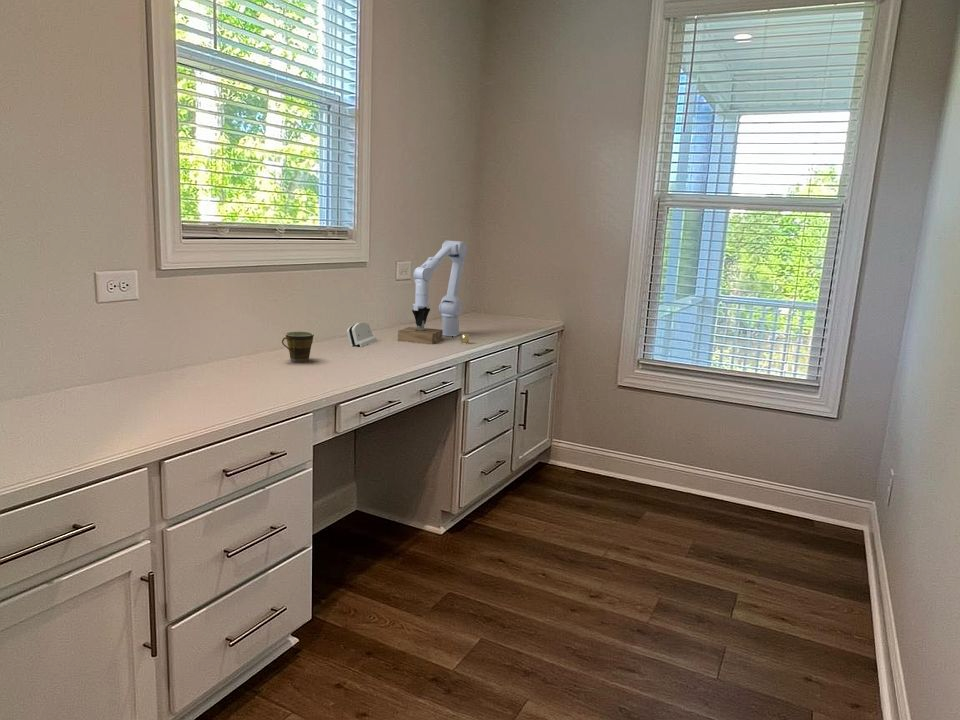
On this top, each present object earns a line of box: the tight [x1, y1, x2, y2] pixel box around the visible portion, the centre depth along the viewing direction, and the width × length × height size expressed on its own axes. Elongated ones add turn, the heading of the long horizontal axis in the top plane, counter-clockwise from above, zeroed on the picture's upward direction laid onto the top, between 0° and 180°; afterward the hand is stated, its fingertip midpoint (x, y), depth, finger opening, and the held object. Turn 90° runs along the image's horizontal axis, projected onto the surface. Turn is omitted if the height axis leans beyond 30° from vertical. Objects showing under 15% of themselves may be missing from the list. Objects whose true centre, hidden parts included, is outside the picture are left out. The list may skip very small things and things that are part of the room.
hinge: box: [346, 322, 378, 348], centre depth 294 cm, size 17×5×10 cm, turn 165°
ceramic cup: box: [281, 331, 314, 363], centre depth 253 cm, size 13×10×10 cm
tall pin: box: [416, 320, 425, 331], centre depth 309 cm, size 3×3×9 cm
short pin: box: [460, 333, 470, 345], centre depth 307 cm, size 3×3×4 cm
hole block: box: [397, 326, 443, 345], centre depth 309 cm, size 14×16×4 cm
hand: (420, 324), depth 308 cm, fingers open, 4 cm apart
